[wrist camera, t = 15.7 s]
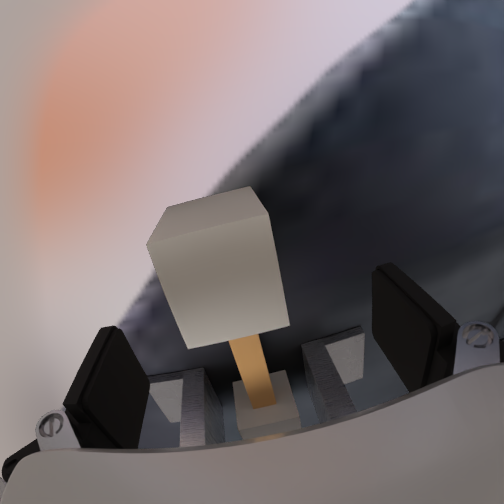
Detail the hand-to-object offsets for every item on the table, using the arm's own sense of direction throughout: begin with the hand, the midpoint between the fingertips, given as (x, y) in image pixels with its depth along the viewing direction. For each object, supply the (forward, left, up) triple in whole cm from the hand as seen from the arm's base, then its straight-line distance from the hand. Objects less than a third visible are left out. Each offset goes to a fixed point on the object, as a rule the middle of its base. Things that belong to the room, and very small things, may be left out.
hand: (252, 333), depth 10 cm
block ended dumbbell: (+1, +5, -7) cm, 9 cm away
